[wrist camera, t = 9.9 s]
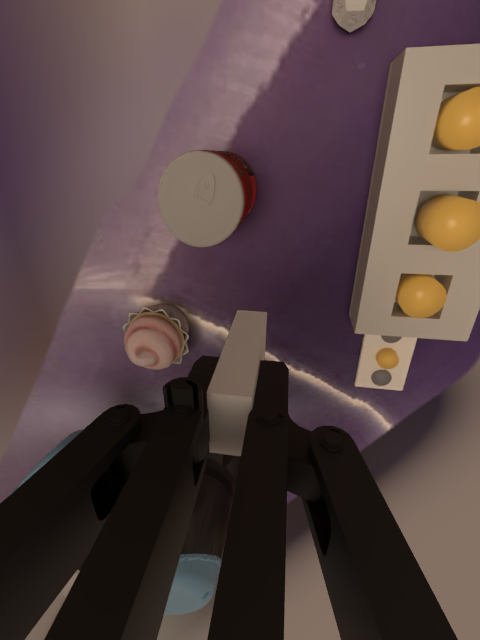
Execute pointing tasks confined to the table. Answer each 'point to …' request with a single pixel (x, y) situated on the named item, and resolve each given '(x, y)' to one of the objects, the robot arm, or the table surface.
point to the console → (417, 200)
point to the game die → (352, 13)
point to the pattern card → (384, 361)
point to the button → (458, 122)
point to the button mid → (449, 222)
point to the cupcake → (156, 336)
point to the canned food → (206, 196)
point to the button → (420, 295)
